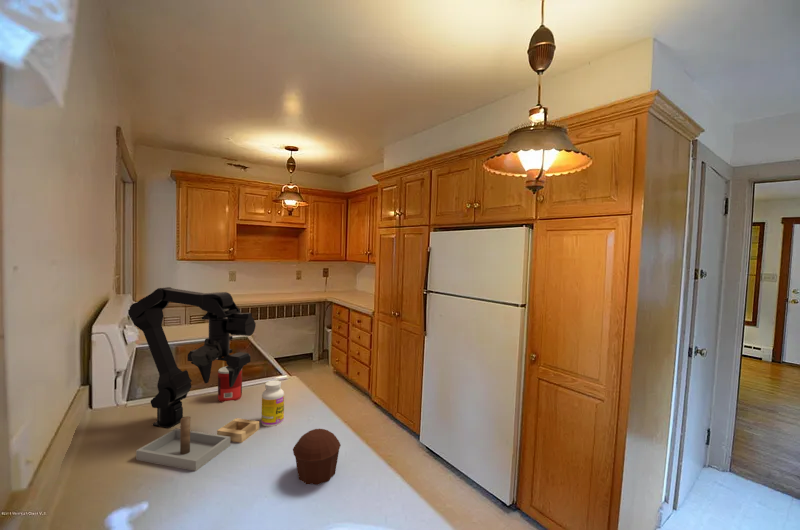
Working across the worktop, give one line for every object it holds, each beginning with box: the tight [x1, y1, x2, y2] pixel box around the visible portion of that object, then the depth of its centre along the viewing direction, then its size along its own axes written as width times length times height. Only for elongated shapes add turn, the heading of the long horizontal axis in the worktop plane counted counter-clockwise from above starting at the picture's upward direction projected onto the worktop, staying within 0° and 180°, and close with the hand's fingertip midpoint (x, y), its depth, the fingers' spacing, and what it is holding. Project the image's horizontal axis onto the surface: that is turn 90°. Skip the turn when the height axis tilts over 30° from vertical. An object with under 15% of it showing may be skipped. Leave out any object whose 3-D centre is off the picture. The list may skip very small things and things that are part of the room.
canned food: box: [217, 365, 243, 403], centre depth 131 cm, size 8×8×11 cm
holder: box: [216, 417, 260, 444], centre depth 105 cm, size 8×8×3 cm
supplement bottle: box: [260, 379, 285, 428], centre depth 112 cm, size 7×7×13 cm
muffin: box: [292, 428, 341, 486], centre depth 87 cm, size 12×11×10 cm
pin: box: [179, 415, 191, 454], centre depth 94 cm, size 2×2×9 cm
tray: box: [135, 427, 231, 472], centre depth 95 cm, size 18×12×3 cm, turn 77°
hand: (218, 384), depth 110 cm, fingers open, 9 cm apart
